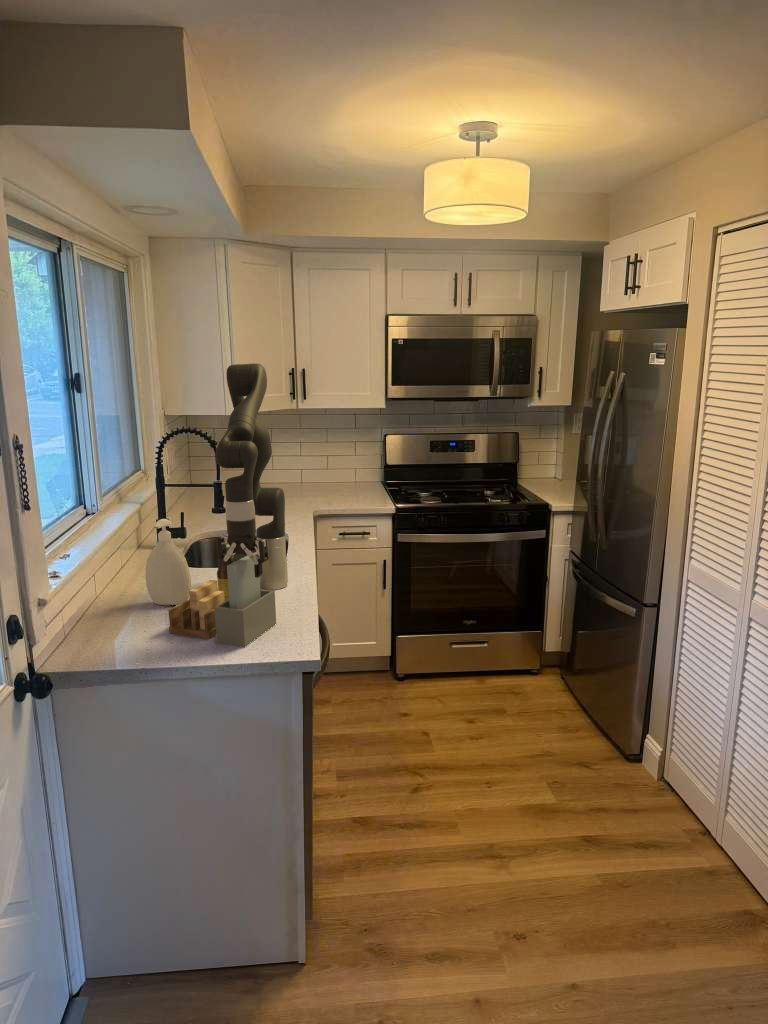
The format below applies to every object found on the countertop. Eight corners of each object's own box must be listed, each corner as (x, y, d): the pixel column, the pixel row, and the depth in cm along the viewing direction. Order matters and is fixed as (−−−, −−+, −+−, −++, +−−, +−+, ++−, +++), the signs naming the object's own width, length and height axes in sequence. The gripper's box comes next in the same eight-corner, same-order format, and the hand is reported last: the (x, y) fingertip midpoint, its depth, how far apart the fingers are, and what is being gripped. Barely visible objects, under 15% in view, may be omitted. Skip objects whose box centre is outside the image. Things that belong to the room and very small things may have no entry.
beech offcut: (219, 617, 188) (217, 590, 186) (225, 618, 187) (223, 591, 186) (200, 628, 180) (198, 601, 178) (207, 629, 179) (205, 601, 177)
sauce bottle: (232, 603, 205) (228, 541, 201) (245, 607, 201) (241, 544, 197) (214, 609, 200) (210, 545, 196) (227, 613, 197) (223, 549, 192)
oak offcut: (212, 612, 192) (210, 579, 190) (219, 613, 191) (217, 580, 189) (191, 625, 182) (189, 590, 180) (198, 626, 182) (195, 591, 180)
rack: (199, 616, 195) (198, 593, 193) (237, 621, 190) (236, 598, 189) (169, 633, 182) (167, 609, 180) (209, 639, 178) (207, 615, 176)
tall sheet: (255, 621, 187) (251, 553, 183) (262, 622, 186) (258, 554, 182) (231, 637, 176) (226, 565, 172) (238, 638, 175) (234, 566, 171)
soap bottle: (140, 608, 202) (132, 521, 196) (153, 599, 210) (146, 516, 204) (185, 610, 200) (178, 523, 194) (196, 601, 208) (190, 517, 202)
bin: (249, 620, 191) (247, 587, 188) (276, 624, 188) (274, 590, 186) (216, 643, 175) (214, 607, 173) (245, 647, 172) (242, 610, 170)
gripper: (271, 515, 176) (274, 574, 179) (225, 512, 180) (229, 569, 184) (257, 521, 169) (260, 582, 172) (209, 518, 174) (213, 577, 177)
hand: (244, 575), depth 178 cm, fingers open, 8 cm apart
